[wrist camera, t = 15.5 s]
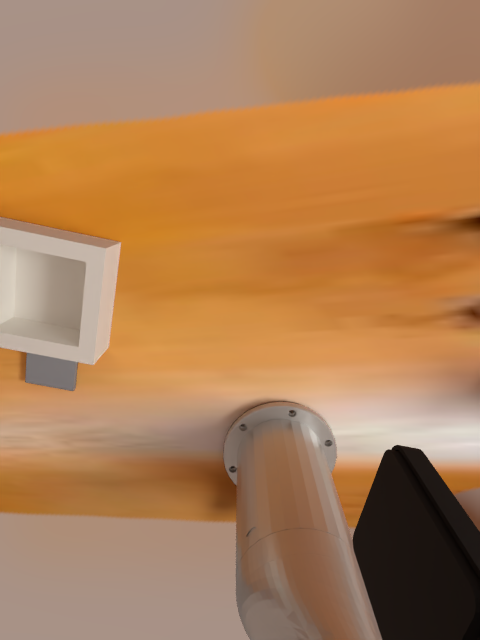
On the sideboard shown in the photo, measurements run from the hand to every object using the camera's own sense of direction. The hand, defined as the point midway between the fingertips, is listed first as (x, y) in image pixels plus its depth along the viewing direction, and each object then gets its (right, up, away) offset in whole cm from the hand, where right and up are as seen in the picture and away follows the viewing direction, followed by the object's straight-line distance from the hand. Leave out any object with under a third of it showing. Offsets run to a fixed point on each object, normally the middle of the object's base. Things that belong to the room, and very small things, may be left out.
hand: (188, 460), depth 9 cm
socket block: (-22, +5, +30) cm, 38 cm away
